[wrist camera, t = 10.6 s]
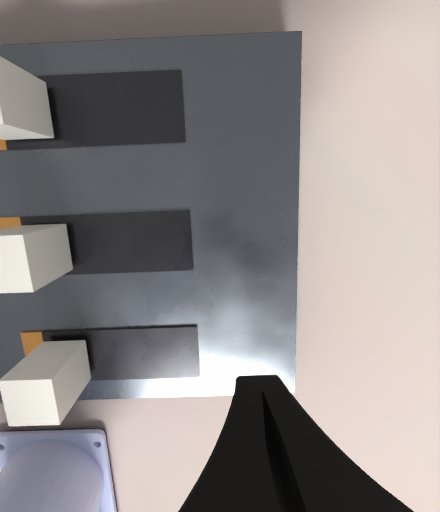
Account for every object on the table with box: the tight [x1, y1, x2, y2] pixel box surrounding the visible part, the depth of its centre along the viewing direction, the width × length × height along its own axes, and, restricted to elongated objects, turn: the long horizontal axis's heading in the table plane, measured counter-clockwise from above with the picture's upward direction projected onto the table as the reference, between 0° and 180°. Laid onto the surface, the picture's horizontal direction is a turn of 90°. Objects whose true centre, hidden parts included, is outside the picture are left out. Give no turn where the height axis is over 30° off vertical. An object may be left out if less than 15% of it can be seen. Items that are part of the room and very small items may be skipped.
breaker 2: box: [0, 340, 91, 426], centre depth 16 cm, size 2×2×4 cm
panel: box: [0, 31, 302, 402], centre depth 18 cm, size 19×19×3 cm
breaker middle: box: [0, 224, 73, 293], centre depth 14 cm, size 2×2×4 cm
